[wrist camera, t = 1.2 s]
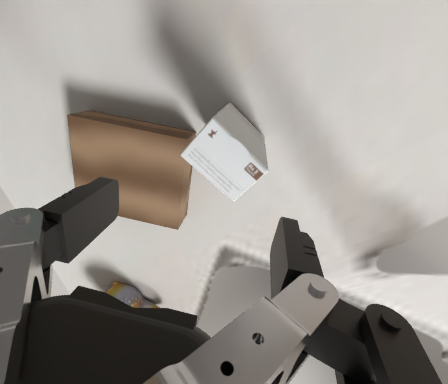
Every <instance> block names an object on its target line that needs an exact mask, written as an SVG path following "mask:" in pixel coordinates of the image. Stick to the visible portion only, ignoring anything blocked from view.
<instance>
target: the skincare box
mask: <svg viewBox="0 0 448 384" xmlns="http://www.w3.org/2000/svg"><path fill="white" fill-rule="evenodd" d="M180 155H181V157H182V158H184V159H185V160H186V161H187V162H188V163H189V164H190V165H192V166H193V167H194V168H195V169H196V170H197V171H198V172H200V173H201V174H202V175H203V176H204V177H205V178H206V179H207V180H209V181H210V182H211V183H212V184H213V185H214V186H216V187H217V188H218V189H219V190H220V191H221V192H222V193H223V194H225V195H226V196H227V197H228V198H229V199H230V200H231V201H232V202H234V201H236V200H237V199H238V198H239V197H240V196H241V195H242V194H243V193H244V192H245V191H247V190H248V189H249V188H250V187H251V186H252V185H253V184H254V183H256V182H257V181H258V180H259V179H260V178H261V177H262V176H264V175H265V174H266V173H267V172H268V164H267V156H266V148H265V140H264V136H263V135H262V134H261V133H260V132H259V131H258V130H257V129H256V128H255V127H254V126H253V125H252V124H251V123H250V122H249V121H248V120H247V119H246V118H245V117H244V116H243V115H242V114H241V113H240V112H239V111H238V110H237V109H236V108H235V107H234V106H233V105H232V104H231V103H230V102H229V103H228V104H227V105H226V106H224V107H223V108H222V109H221V110H220V111H219V112H217V113H216V115H214V116H213V117H212V118H211V119H210V120H209V122H208V123H207V124H206V125H205V126H204V128H203V129H202V130H201V131H200V132H199V134H198V135H197V136H196V137H195V138H194V139H193V140H192V142H191V143H190V144H189V145H188V146H187V147H186V148H185V149H184V150H183V151H182V153H181V154H180Z"/></svg>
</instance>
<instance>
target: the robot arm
mask: <svg viewBox="0 0 448 384" xmlns="http://www.w3.org/2000/svg"><path fill="white" fill-rule="evenodd" d="M118 212H119V183H118V181H117V180H115V179H110V178H106V177H99V178H97V179H95V180H94V181H92V182H90V183H88V184H85V185H82V186H78V187H76V188H74V189H72V190H70V191H69V192H68V193H65V194H64V195H62V196H61V197H58V198H57V199H55V200H53V201H51V202H50V203H48V204H46V205H44V206H43V207H41V208H39V209H34V208H20V209H14V210H10V211H7V212H5V213H3V214H1V215H0V384H289V382H290V381H291V380H292V378H293V377H294V376H295V374H296V373H297V372H298V370H299V369H300V368H301V366H302V365H303V364H304V362H305V361H306V360H307V358H308V357H309V356H310V355H311V356H313V357H315V358H316V359H318V360H320V361H321V362H323V363H325V364H327V365H328V366H330V367H332V368H333V369H335V373H336V379H337V384H442V383H441V381H440V379H439V377H438V375H437V373H436V371H435V369H434V367H433V366H432V364H431V362H430V360H429V358H428V356H427V354H426V352H425V351H424V349H423V347H422V345H421V343H420V341H419V339H418V337H417V335H416V333H415V331H414V330H413V328H412V326H411V325H410V324H409V323H408V321H407V320H406V319H405V318H403V317H402V316H401V315H400V314H399V313H397V312H396V311H394V310H392V309H390V308H388V307H386V306H383V305H379V304H371V305H369V306H367V308H366V309H365V311H363V310H360V309H358V308H356V307H354V306H352V305H350V304H348V303H346V302H344V301H343V300H341V299H339V295H338V292H337V290H336V288H335V287H334V286H333V285H332V284H331V283H330V282H329V281H328V280H326V279H325V278H324V276H323V272H322V269H321V265H320V262H319V259H318V257H317V252H316V250H315V249H316V248H315V245H314V241H313V240H312V239H311V237H310V236H309V235H308V234H307V233H304V232H300V229H299V225H298V221H297V220H294V219H290V218H285V217H281V218H280V220H279V223H278V226H277V229H276V233H275V236H274V239H273V242H272V246H271V251H270V274H271V300H269V299H267V298H266V297H263V298H261V299H259V300H258V301H257V302H256V303H254V304H253V305H252V306H251V307H249V308H248V309H247V310H246V311H244V312H243V313H242V314H241V315H239V316H238V317H237V318H235V319H234V320H233V321H232V322H231V323H229V324H228V325H227V326H225V327H224V328H223V329H222V330H220V331H219V332H218V333H217V334H215V335H214V336H213V337H212V338H211V337H210V336H209V335H208V334H207V333H205V332H204V331H202V330H201V329H199V328H198V327H196V322H197V316H196V315H192V314H188V313H184V312H180V311H176V310H172V309H168V308H135V307H131V306H129V305H127V304H126V303H124V302H122V301H120V300H119V299H117V298H115V297H113V296H111V295H110V294H108V293H105V292H101V291H97V290H93V289H89V288H85V287H81V286H78V287H77V288H76V289H75V290H74V291H73V292H72V293H71V294H70V295H61V296H54V297H51V287H52V286H51V285H52V271H53V268H52V263H53V262H54V261H60V262H64V263H69V262H71V261H72V260H73V259H74V258H75V257H76V256H77V255H78V254H79V253H80V252H81V251H82V250H83V249H84V248H85V247H86V246H88V245H89V244H90V243H91V242H92V241H93V240H94V239H95V238H96V237H97V236H98V235H99V234H100V233H101V232H102V231H104V230H105V229H106V228H107V227H108V226H109V225H110V224H111V223H112V222H113V221H114V220H115V219H116V217H117V215H118Z"/></svg>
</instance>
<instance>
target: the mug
mask: <svg viewBox="0 0 448 384" xmlns="http://www.w3.org/2000/svg"><path fill="white" fill-rule="evenodd" d="M105 293H108V294H110V295H111V296H113V297H115V298H117V299H119V300H120V301H122V302H124V303H126V304H127V305H129V306H131V307H135V308H159V307H158V306H157V305H155V304H154V303H152V302H150V301H148V300H146V299H144V298H143V296H142V295H141V293H140V292H139V291H138V290H137V289H136V288H134V287H132V286H130V285H127V284H121V283H119V282H113V286H112V287H111V288H110V289H108V290H107V291H106V292H105Z"/></svg>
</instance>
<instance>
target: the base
mask: <svg viewBox="0 0 448 384" xmlns="http://www.w3.org/2000/svg"><path fill="white" fill-rule="evenodd" d="M67 117H68V126H69V136H70V145H71V154H72V164H73V173H74V182H75V188H76V187H78V186H82V185H85V184H88V183H90V182H92V181H94V180H95V179H97V178H99V177H106V178H110V179H115V180H117V181H118V183H119V212H118V215H117V216H121V217H125V218H129V219H134V220H138V221H142V222H147V223H151V224H155V225H160V226H164V227H168V228H173V229H177V230H178V229H179V227H180V225H181V223H182V222H183V220H184V218H185V216H186V215H187V207H188V199H189V190H190V181H191V173H192V165H190V164H189V163H188V162H187V161H186V160H185V159H184V158H182V157H181V155H180V154H181V153H182V151H183V150H184V149H185V148H186V147H187V146H188V145H189V144H190V143H191V142H192V140H193V139H194V138H195V137H196V132H192V131H187V130H183V129H178V128H173V127H168V126H163V125H158V124H153V123H148V122H143V121H138V120H133V119H128V118H124V117H119V116H114V115H109V114H104V113H99V112H94V111H85V112H80V113H75V114H69V115H67Z"/></svg>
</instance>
